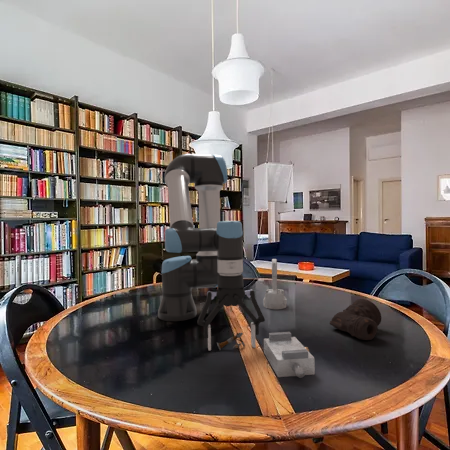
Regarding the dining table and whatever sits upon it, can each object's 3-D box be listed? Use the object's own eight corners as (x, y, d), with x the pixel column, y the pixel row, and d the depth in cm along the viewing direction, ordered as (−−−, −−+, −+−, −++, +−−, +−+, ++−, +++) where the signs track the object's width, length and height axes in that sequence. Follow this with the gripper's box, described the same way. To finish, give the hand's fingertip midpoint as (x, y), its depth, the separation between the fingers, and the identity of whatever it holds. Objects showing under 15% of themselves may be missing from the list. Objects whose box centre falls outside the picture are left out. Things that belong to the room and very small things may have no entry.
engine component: (262, 308, 133) (286, 309, 131) (261, 260, 133) (285, 260, 131) (264, 302, 143) (286, 303, 141) (263, 257, 143) (286, 257, 141)
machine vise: (281, 383, 71) (281, 359, 71) (263, 352, 88) (263, 333, 88) (324, 380, 72) (323, 356, 72) (298, 350, 89) (298, 331, 89)
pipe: (359, 318, 93) (390, 303, 100) (321, 310, 106) (351, 296, 113) (365, 350, 93) (395, 332, 100) (327, 337, 106) (356, 322, 113)
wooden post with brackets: (248, 345, 91) (242, 331, 91) (223, 358, 90) (217, 344, 90) (247, 343, 93) (240, 329, 93) (222, 355, 92) (216, 342, 92)
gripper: (188, 277, 86) (189, 355, 86) (274, 274, 89) (275, 349, 89) (188, 273, 94) (189, 344, 94) (267, 270, 97) (269, 340, 97)
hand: (231, 347), depth 91 cm, fingers open, 12 cm apart
